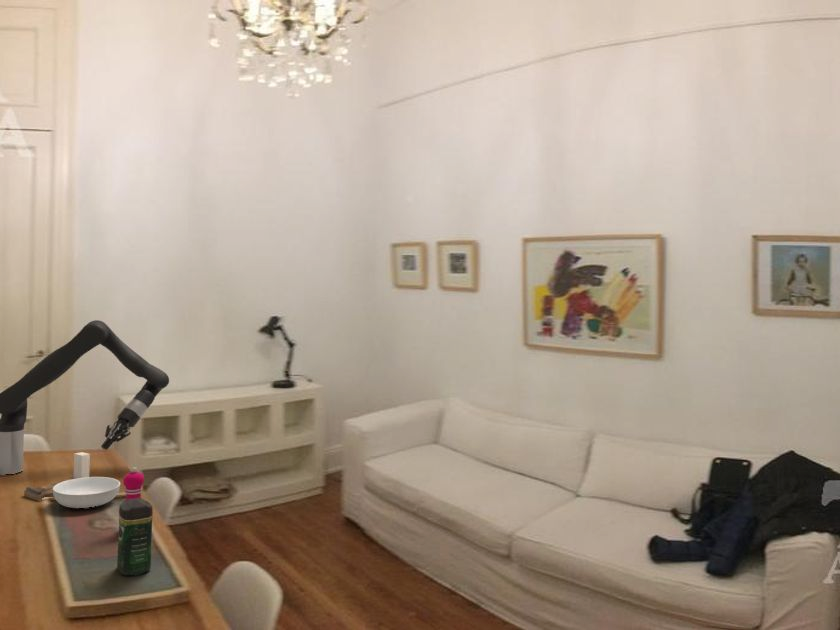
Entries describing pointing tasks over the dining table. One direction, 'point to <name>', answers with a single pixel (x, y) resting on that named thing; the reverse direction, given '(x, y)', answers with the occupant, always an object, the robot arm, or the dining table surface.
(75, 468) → the block
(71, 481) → the serving bowl
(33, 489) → the brown flat rectangular board
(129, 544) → the green labelled bottle
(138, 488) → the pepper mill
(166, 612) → the dining table surface
